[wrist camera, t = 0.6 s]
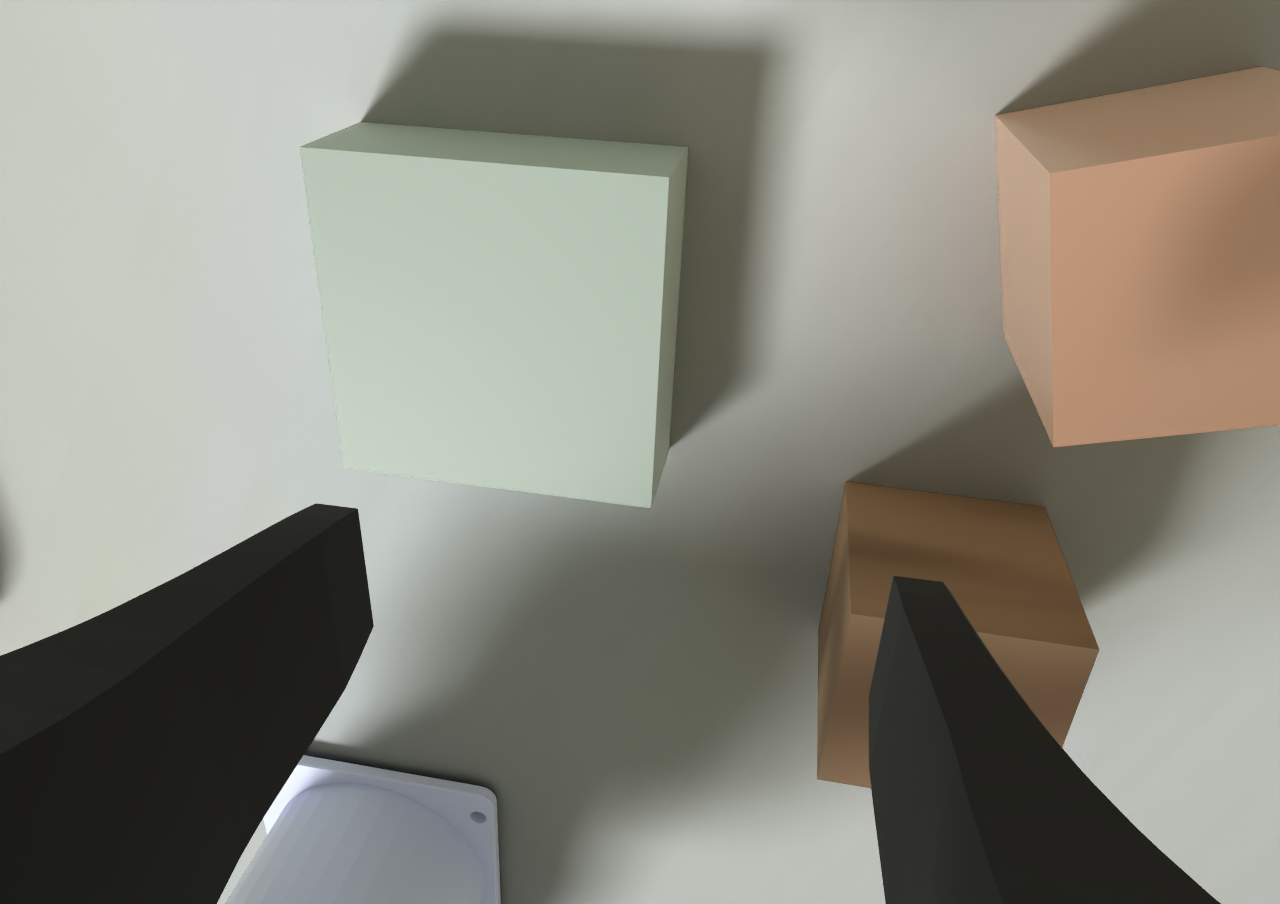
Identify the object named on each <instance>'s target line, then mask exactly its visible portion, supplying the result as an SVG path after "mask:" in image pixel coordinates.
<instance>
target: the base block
mask: <svg viewBox="0 0 1280 904" xmlns="http://www.w3.org/2000/svg"><path fill="white" fill-rule="evenodd" d="M300 153H301V160H302V167H303V175H304V182H305V190H306V197H307V204H308V212H309V219H310V226H311V234H312V241H313V248H314V256H315V263H316V271H317V278H318V285H319V293H320V300H321V307H322V315H323V322H324V329H325V337H326V344H327V352H328V359H329V366H330V374H331V381H332V388H333V396H334V403H335V410H336V418H337V425H338V433H339V440H340V447H341V455H342V462H343V469H351V470H358V471H366V472H374V473H382V474H389V475H397V476H405V477H413V478H420V479H428V480H436V481H444V482H451V483H459V484H467V485H475V486H482V487H490V488H498V489H505V490H513V491H521V492H529V493H536V494H544V495H552V496H560V497H567V498H575V499H583V500H591V501H598V502H606V503H614V504H622V505H629V506H637V507H645V508H651V507H652V504H653V500H654V497H655V494H656V491H657V487H658V484H659V481H660V478H661V474H662V471H663V468H664V465H665V461H666V458H667V455H668V451H669V446H670V430H671V415H672V399H673V383H674V367H675V352H676V336H677V320H678V305H679V289H680V273H681V257H682V242H683V226H684V210H685V195H686V179H687V163H688V147H682V146H669V145H656V144H643V143H630V142H617V141H604V140H590V139H577V138H564V137H551V136H538V135H525V134H512V133H499V132H486V131H473V130H460V129H447V128H434V127H421V126H407V125H394V124H381V123H368V122H359V123H357V124H355V125H352V126H350V127H347V128H345V129H342V130H340V131H338V132H335V133H333V134H330V135H328V136H325V137H323V138H321V139H318V140H316V141H313V142H311V143H309V144H306V145H304V146H301V147H300Z"/></svg>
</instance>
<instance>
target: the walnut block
mask: <svg viewBox="0 0 1280 904" xmlns="http://www.w3.org/2000/svg"><path fill="white" fill-rule="evenodd" d="M893 576H900V577H908V578H916V579H924V580H932V581H940V582H943V583H944V584H945V585H946V586H947V588H948V589H949V590H950V592H951V593H952V595H953V596H954V598H955V600H956V601H957V603H958V604H959V606H960V608H961V609H962V611H963V612H964V614H965V615H966V617H967V619H968V620H969V622H970V623H971V625H972V626H973V628H974V629H975V631H976V632H977V634H978V635H979V637H980V638H981V640H982V641H983V643H984V644H985V646H986V647H987V649H988V650H989V652H990V653H991V655H992V656H993V658H994V659H995V661H996V662H997V663H998V665H999V666H1000V668H1001V669H1002V671H1003V672H1004V673H1005V675H1006V676H1007V677H1008V679H1009V680H1010V681H1011V683H1012V684H1013V686H1014V687H1015V688H1016V690H1017V691H1018V692H1019V694H1020V695H1021V696H1022V698H1023V699H1024V700H1025V702H1026V703H1027V705H1028V706H1029V707H1030V709H1031V710H1032V711H1033V712H1034V714H1035V715H1036V716H1037V718H1038V719H1039V720H1040V721H1041V723H1042V724H1043V725H1044V726H1045V728H1046V729H1047V730H1048V732H1049V733H1050V734H1051V735H1052V736H1053V738H1054V739H1055V740H1056V741H1057V742H1058V744H1059V745H1060V746H1061V747H1063V744H1064V741H1065V739H1066V736H1067V733H1068V731H1069V728H1070V725H1071V723H1072V720H1073V718H1074V715H1075V712H1076V710H1077V707H1078V704H1079V702H1080V699H1081V697H1082V694H1083V691H1084V689H1085V686H1086V683H1087V681H1088V678H1089V676H1090V673H1091V670H1092V668H1093V665H1094V662H1095V660H1096V657H1097V654H1098V652H1099V648H1098V645H1097V643H1096V640H1095V637H1094V635H1093V632H1092V630H1091V627H1090V624H1089V622H1088V619H1087V616H1086V614H1085V611H1084V609H1083V606H1082V603H1081V601H1080V598H1079V596H1078V593H1077V590H1076V588H1075V585H1074V582H1073V580H1072V577H1071V575H1070V572H1069V569H1068V567H1067V564H1066V562H1065V559H1064V556H1063V554H1062V551H1061V548H1060V546H1059V543H1058V541H1057V538H1056V535H1055V533H1054V530H1053V528H1052V525H1051V522H1050V520H1049V517H1048V514H1047V512H1046V509H1045V507H1041V506H1033V505H1025V504H1018V503H1010V502H1002V501H994V500H986V499H978V498H970V497H963V496H955V495H947V494H939V493H931V492H923V491H915V490H908V489H900V488H892V487H884V486H876V485H868V484H861V483H853V482H846V483H845V489H844V494H843V500H842V505H841V511H840V516H839V521H838V527H837V532H836V538H835V543H834V549H833V554H832V559H831V565H830V570H829V576H828V581H827V587H826V592H825V598H824V603H823V608H822V614H821V619H820V625H819V631H818V754H817V779H819V780H825V781H831V782H837V783H843V784H849V785H855V786H861V787H867V788H871V781H870V772H869V693H870V688H871V683H872V678H873V673H874V668H875V663H876V659H877V654H878V649H879V644H880V639H881V634H882V629H883V624H884V619H885V615H886V610H887V605H888V600H889V595H890V590H891V585H892V580H893Z"/></svg>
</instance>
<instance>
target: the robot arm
mask: <svg viewBox="0 0 1280 904" xmlns="http://www.w3.org/2000/svg"><path fill="white" fill-rule="evenodd" d="M372 628H373V618H372V611H371V603H370V596H369V589H368V581H367V574H366V566H365V559H364V552H363V544H362V537H361V530H360V522H359V515H358V509H356V508H348V507H340V506H332V505H324V504H314V505H312V506H310V507H308V508H305V509H303V510H301V511H299V512H297V513H295V514H293V515H291V516H289V517H287V518H285V519H283V520H281V521H280V522H278V523H276V524H274V525H272V526H270V527H268V528H267V529H265V530H263V531H261V532H259V533H257V534H256V535H254V536H252V537H250V538H248V539H246V540H245V541H243V542H241V543H239V544H237V545H236V546H234V547H232V548H230V549H228V550H226V551H224V552H223V553H221V554H219V555H217V556H215V557H213V558H212V559H210V560H208V561H206V562H204V563H202V564H200V565H199V566H197V567H195V568H193V569H191V570H189V571H188V572H186V573H184V574H182V575H180V576H178V577H176V578H174V579H172V580H170V581H168V582H166V583H164V584H162V585H160V586H158V587H156V588H154V589H152V590H150V591H148V592H146V593H144V594H142V595H140V596H138V597H136V598H134V599H132V600H130V601H128V602H126V603H124V604H122V605H120V606H118V607H116V608H113V609H111V610H109V611H107V612H105V613H103V614H101V615H99V616H96V617H94V618H92V619H90V620H88V621H85V622H83V623H81V624H78V625H76V626H74V627H71V628H69V629H67V630H64V631H62V632H60V633H57V634H55V635H52V636H50V637H47V638H45V639H42V640H40V641H37V642H35V643H33V644H30V645H28V646H25V647H23V648H20V649H17V650H15V651H12V652H10V653H7V654H4V655H1V656H0V904H217V902H218V900H219V898H220V896H221V894H222V892H223V890H224V888H225V886H226V884H227V882H228V880H229V878H230V876H231V874H232V872H233V870H234V868H235V866H236V864H237V862H238V860H239V858H240V857H241V855H242V853H243V851H244V850H245V848H246V846H247V844H248V843H249V841H250V839H251V838H252V836H253V834H254V832H255V831H256V829H257V827H258V825H259V824H260V822H261V821H262V819H263V820H264V824H265V829H266V833H267V836H266V838H265V840H264V841H263V843H262V844H261V846H260V848H259V849H258V851H257V853H256V854H255V856H254V857H253V859H252V861H251V862H250V864H249V865H248V867H247V869H246V870H245V872H244V874H243V875H242V877H241V878H240V880H239V882H238V883H237V885H236V887H235V888H234V890H233V891H232V893H231V895H230V896H229V898H228V900H227V901H226V903H225V904H501V897H500V871H499V846H498V820H497V799H496V796H495V795H494V794H493V792H492V791H491V790H489V789H487V788H485V787H482V786H477V785H471V784H466V783H460V782H454V781H449V780H443V779H437V778H431V777H426V776H420V775H414V774H409V773H403V772H397V771H392V770H386V769H380V768H374V767H369V766H363V765H357V764H352V763H346V762H340V761H335V760H329V759H323V758H318V757H312V756H306V755H304V754H305V752H306V750H307V749H308V747H309V746H310V744H311V743H312V741H313V740H314V738H315V736H316V735H317V733H318V732H319V730H320V728H321V727H322V725H323V724H324V722H325V720H326V719H327V717H328V716H329V714H330V713H331V711H332V709H333V708H334V706H335V705H336V703H337V701H338V700H339V698H340V696H341V695H342V693H343V691H344V690H345V688H346V686H347V684H348V682H349V680H350V677H351V675H352V673H353V671H354V669H355V667H356V665H357V663H358V661H359V658H360V656H361V654H362V651H363V649H364V647H365V645H366V642H367V640H368V638H369V635H370V633H371V631H372ZM869 772H870V781H871V790H872V798H873V806H874V814H875V822H876V830H877V838H878V846H879V854H880V862H881V870H882V877H883V885H884V893H885V901H886V904H1220V903H1219V902H1218V901H1217V900H1216V899H1214V898H1213V897H1212V896H1211V895H1210V894H1209V893H1207V892H1206V891H1205V890H1204V889H1203V888H1202V887H1201V886H1200V885H1199V884H1197V883H1196V882H1195V881H1194V880H1193V879H1192V878H1191V877H1190V876H1188V875H1187V874H1186V873H1185V872H1184V871H1183V870H1182V869H1181V868H1179V867H1178V866H1177V865H1176V864H1175V863H1174V862H1173V861H1172V860H1170V859H1169V858H1168V857H1167V856H1166V855H1165V854H1164V853H1163V852H1161V851H1160V850H1159V849H1158V848H1157V847H1156V846H1155V845H1154V844H1153V843H1152V842H1151V841H1150V840H1149V839H1148V838H1147V837H1146V836H1145V835H1144V834H1142V833H1141V832H1140V831H1139V830H1138V829H1137V828H1136V827H1135V826H1134V825H1133V824H1132V823H1131V822H1130V821H1129V820H1128V819H1127V818H1126V817H1125V816H1124V815H1123V814H1122V813H1121V812H1120V810H1119V809H1118V808H1117V807H1116V806H1115V805H1114V804H1113V803H1112V802H1111V801H1110V800H1109V799H1108V798H1107V797H1106V796H1105V795H1104V794H1103V793H1102V792H1101V791H1100V790H1099V789H1098V788H1097V787H1096V786H1095V785H1094V784H1093V783H1092V782H1091V781H1090V779H1089V778H1088V777H1087V776H1086V775H1085V774H1084V773H1083V772H1082V771H1081V770H1080V768H1079V767H1078V766H1077V765H1076V764H1075V763H1074V762H1073V760H1072V759H1071V758H1070V757H1069V756H1068V754H1067V753H1066V752H1065V751H1064V750H1063V748H1062V747H1061V746H1060V745H1059V744H1058V742H1057V741H1056V740H1055V739H1054V738H1053V736H1052V735H1051V734H1050V733H1049V732H1048V730H1047V729H1046V728H1045V726H1044V725H1043V724H1042V723H1041V721H1040V720H1039V719H1038V718H1037V716H1036V715H1035V714H1034V712H1033V711H1032V710H1031V709H1030V707H1029V706H1028V705H1027V703H1026V702H1025V700H1024V699H1023V698H1022V696H1021V695H1020V694H1019V692H1018V691H1017V690H1016V688H1015V687H1014V686H1013V684H1012V683H1011V681H1010V680H1009V679H1008V677H1007V676H1006V675H1005V673H1004V672H1003V671H1002V669H1001V668H1000V666H999V665H998V663H997V662H996V661H995V659H994V658H993V656H992V655H991V653H990V652H989V650H988V649H987V647H986V646H985V644H984V643H983V641H982V640H981V638H980V637H979V635H978V634H977V632H976V631H975V629H974V628H973V626H972V625H971V623H970V622H969V620H968V619H967V617H966V615H965V614H964V612H963V611H962V609H961V608H960V606H959V604H958V603H957V601H956V600H955V598H954V596H953V595H952V593H951V592H950V590H949V589H948V588H947V586H946V585H945V584H944V583H943V582H940V581H932V580H924V579H916V578H908V577H900V576H893V580H892V585H891V590H890V595H889V600H888V605H887V610H886V615H885V619H884V624H883V629H882V634H881V639H880V644H879V649H878V654H877V659H876V663H875V668H874V673H873V678H872V683H871V688H870V693H869Z"/></svg>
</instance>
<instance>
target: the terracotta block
mask: <svg viewBox="0 0 1280 904" xmlns="http://www.w3.org/2000/svg"><path fill="white" fill-rule="evenodd" d="M995 124H996V151H997V177H998V203H999V230H1000V256H1001V282H1002V309H1003V335H1004V338H1005V340H1006V343H1007V345H1008V347H1009V349H1010V351H1011V354H1012V356H1013V358H1014V360H1015V363H1016V365H1017V367H1018V369H1019V371H1020V374H1021V376H1022V378H1023V380H1024V383H1025V385H1026V387H1027V389H1028V392H1029V394H1030V396H1031V398H1032V400H1033V403H1034V405H1035V407H1036V409H1037V412H1038V414H1039V416H1040V418H1041V421H1042V423H1043V425H1044V427H1045V429H1046V432H1047V434H1048V436H1049V438H1050V441H1051V443H1052V445H1053V447H1062V446H1072V445H1083V444H1093V443H1103V442H1113V441H1123V440H1133V439H1144V438H1154V437H1164V436H1174V435H1184V434H1194V433H1204V432H1215V431H1225V430H1235V429H1245V428H1255V427H1265V426H1275V425H1280V71H1277V70H1274V69H1271V68H1267V67H1264V66H1263V67H1257V68H1252V69H1246V70H1241V71H1235V72H1230V73H1224V74H1219V75H1213V76H1208V77H1202V78H1197V79H1191V80H1186V81H1180V82H1175V83H1170V84H1164V85H1159V86H1153V87H1148V88H1142V89H1137V90H1131V91H1126V92H1120V93H1115V94H1109V95H1104V96H1098V97H1093V98H1087V99H1082V100H1076V101H1071V102H1065V103H1060V104H1054V105H1049V106H1043V107H1038V108H1032V109H1027V110H1021V111H1016V112H1010V113H1005V114H999V115H995Z"/></svg>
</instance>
